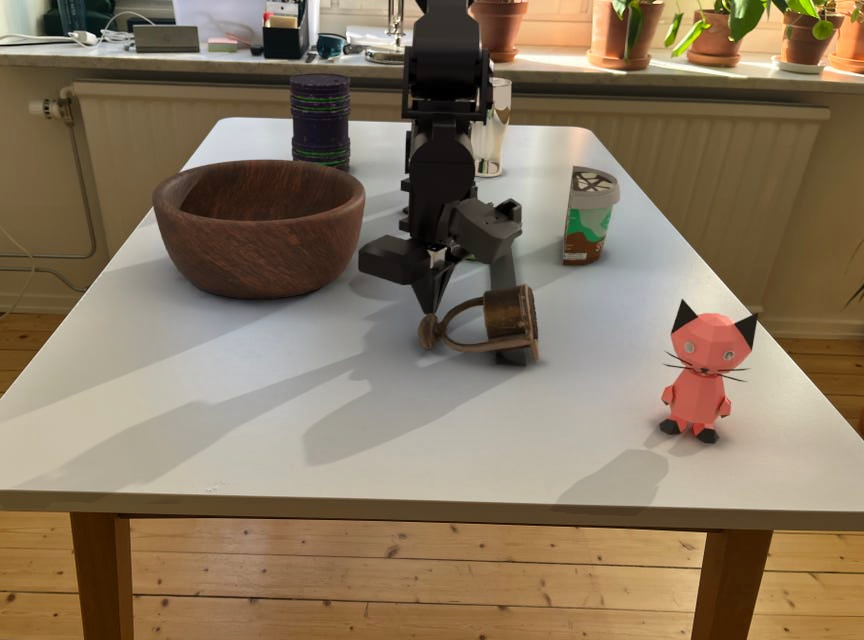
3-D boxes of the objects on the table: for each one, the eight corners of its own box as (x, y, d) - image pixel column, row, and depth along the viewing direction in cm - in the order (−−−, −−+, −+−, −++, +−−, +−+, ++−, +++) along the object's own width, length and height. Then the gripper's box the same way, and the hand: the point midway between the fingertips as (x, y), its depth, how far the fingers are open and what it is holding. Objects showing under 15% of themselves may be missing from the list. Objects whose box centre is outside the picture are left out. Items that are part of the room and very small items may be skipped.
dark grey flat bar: (526, 366, 82) (526, 365, 82) (496, 364, 82) (496, 363, 82) (509, 232, 115) (509, 231, 115) (487, 231, 115) (487, 230, 115)
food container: (611, 273, 102) (625, 196, 98) (562, 269, 103) (573, 192, 99) (608, 239, 113) (620, 168, 108) (563, 235, 114) (573, 164, 109)
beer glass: (511, 170, 141) (520, 80, 133) (493, 180, 136) (501, 87, 128) (475, 163, 144) (481, 75, 137) (456, 173, 139) (462, 81, 131)
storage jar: (281, 174, 136) (277, 81, 129) (308, 159, 144) (306, 71, 137) (335, 182, 133) (334, 87, 126) (360, 166, 141) (360, 76, 134)
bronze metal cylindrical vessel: (530, 337, 75) (566, 278, 81) (406, 296, 80) (450, 243, 86) (522, 392, 80) (557, 332, 86) (406, 351, 85) (447, 297, 91)
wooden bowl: (184, 230, 112) (176, 156, 107) (365, 233, 113) (366, 159, 108) (138, 310, 91) (126, 221, 86) (363, 313, 91) (364, 226, 86)
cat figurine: (643, 436, 71) (669, 313, 65) (654, 399, 77) (679, 281, 71) (729, 457, 69) (764, 331, 63) (734, 417, 74) (767, 297, 68)
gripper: (460, 213, 69) (447, 372, 77) (556, 166, 82) (537, 305, 90) (355, 186, 75) (353, 337, 82) (461, 146, 88) (451, 279, 96)
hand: (429, 314), depth 87 cm, fingers closed
